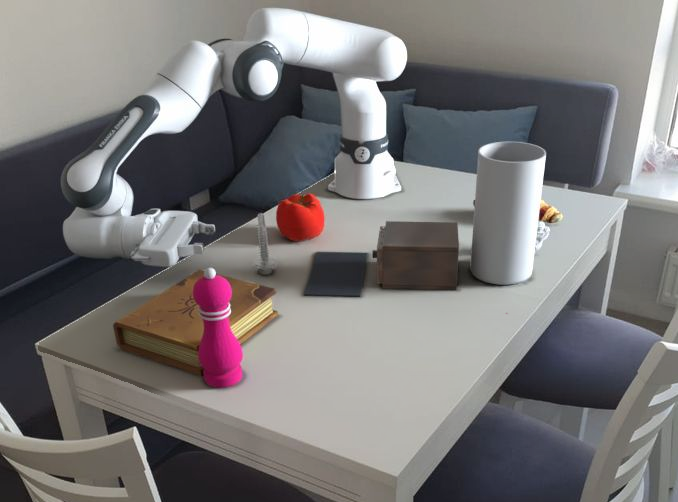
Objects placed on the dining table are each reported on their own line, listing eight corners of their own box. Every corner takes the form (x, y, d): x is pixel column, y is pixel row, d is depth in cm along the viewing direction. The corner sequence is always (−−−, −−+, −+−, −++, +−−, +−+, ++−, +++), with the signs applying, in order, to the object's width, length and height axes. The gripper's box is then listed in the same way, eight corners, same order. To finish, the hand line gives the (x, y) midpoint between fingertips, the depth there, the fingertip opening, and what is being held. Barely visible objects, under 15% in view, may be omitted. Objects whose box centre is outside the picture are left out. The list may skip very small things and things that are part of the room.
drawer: (370, 283, 159) (370, 249, 155) (374, 258, 168) (374, 226, 164) (445, 284, 158) (446, 250, 154) (444, 260, 167) (446, 227, 163)
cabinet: (382, 288, 159) (382, 246, 154) (385, 261, 169) (386, 221, 164) (456, 290, 157) (459, 247, 152) (455, 262, 168) (457, 222, 163)
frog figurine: (545, 259, 168) (549, 228, 164) (511, 256, 170) (514, 225, 166) (548, 248, 173) (552, 218, 169) (516, 244, 175) (519, 214, 171)
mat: (316, 253, 173) (316, 251, 173) (367, 253, 172) (367, 252, 172) (304, 295, 157) (304, 294, 157) (360, 296, 156) (360, 295, 156)
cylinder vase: (458, 266, 166) (466, 147, 152) (510, 255, 170) (521, 138, 156) (490, 291, 157) (501, 166, 143) (544, 279, 161) (559, 156, 147)
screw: (251, 269, 167) (274, 265, 168) (256, 278, 163) (279, 275, 165) (246, 210, 160) (269, 207, 161) (251, 218, 156) (275, 215, 157)
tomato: (300, 250, 175) (297, 211, 170) (267, 235, 182) (264, 197, 177) (337, 237, 180) (335, 198, 175) (304, 222, 188) (301, 185, 183)
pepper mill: (210, 394, 129) (193, 282, 118) (195, 373, 134) (179, 264, 123) (251, 382, 131) (239, 271, 120) (236, 361, 137) (223, 254, 126)
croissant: (561, 233, 188) (568, 199, 187) (557, 228, 178) (565, 192, 177) (474, 220, 194) (480, 187, 193) (465, 215, 185) (472, 180, 184)
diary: (199, 295, 158) (196, 268, 155) (277, 316, 150) (275, 288, 147) (117, 348, 141) (111, 319, 138) (200, 375, 134) (196, 345, 130)
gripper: (123, 244, 154) (193, 245, 153) (154, 205, 171) (218, 205, 169) (129, 274, 157) (198, 275, 156) (159, 232, 174) (221, 233, 173)
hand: (208, 238), depth 163 cm, fingers open, 8 cm apart
